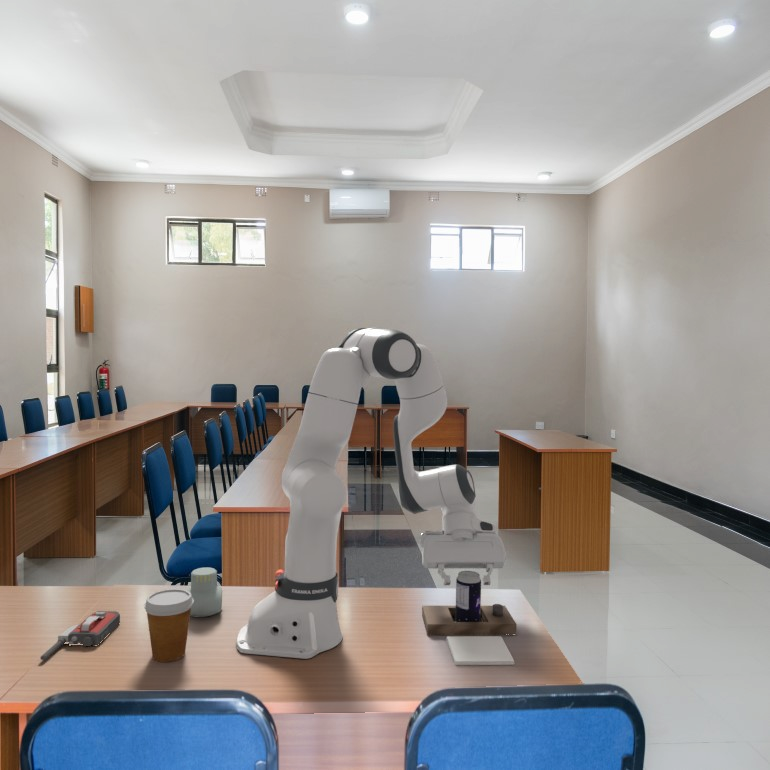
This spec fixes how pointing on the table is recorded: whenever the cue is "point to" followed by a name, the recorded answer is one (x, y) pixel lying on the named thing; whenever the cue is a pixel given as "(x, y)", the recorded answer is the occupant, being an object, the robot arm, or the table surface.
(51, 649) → the walkie-talkie
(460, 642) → the pad
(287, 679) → the table surface
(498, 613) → the base
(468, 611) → the beverage can
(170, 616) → the disposable coffee cup
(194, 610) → the air freshener
